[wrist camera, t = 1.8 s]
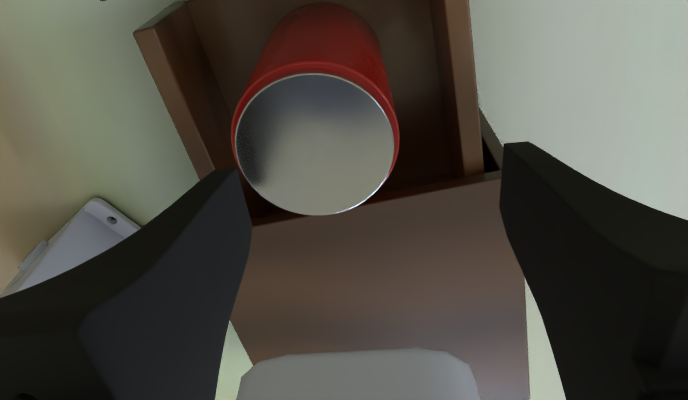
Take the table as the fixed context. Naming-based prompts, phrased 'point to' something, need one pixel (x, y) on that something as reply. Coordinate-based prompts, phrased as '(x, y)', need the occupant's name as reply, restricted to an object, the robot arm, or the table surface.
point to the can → (317, 114)
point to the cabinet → (395, 280)
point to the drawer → (399, 58)
